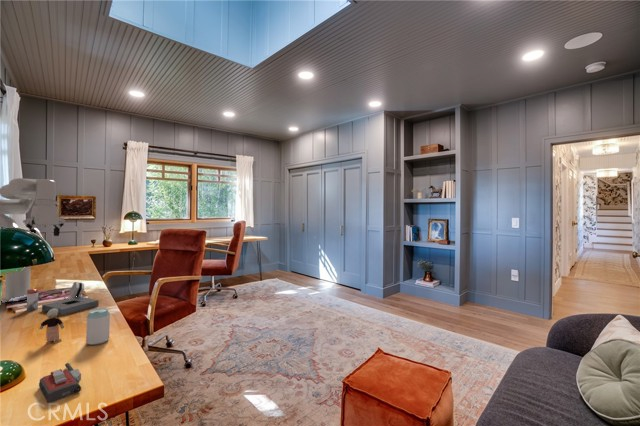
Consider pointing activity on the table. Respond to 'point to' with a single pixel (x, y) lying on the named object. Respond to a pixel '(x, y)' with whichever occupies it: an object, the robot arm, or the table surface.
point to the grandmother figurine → (52, 326)
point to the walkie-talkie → (60, 384)
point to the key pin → (32, 299)
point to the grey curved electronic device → (76, 290)
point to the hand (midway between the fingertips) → (45, 236)
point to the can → (98, 326)
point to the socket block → (71, 305)
